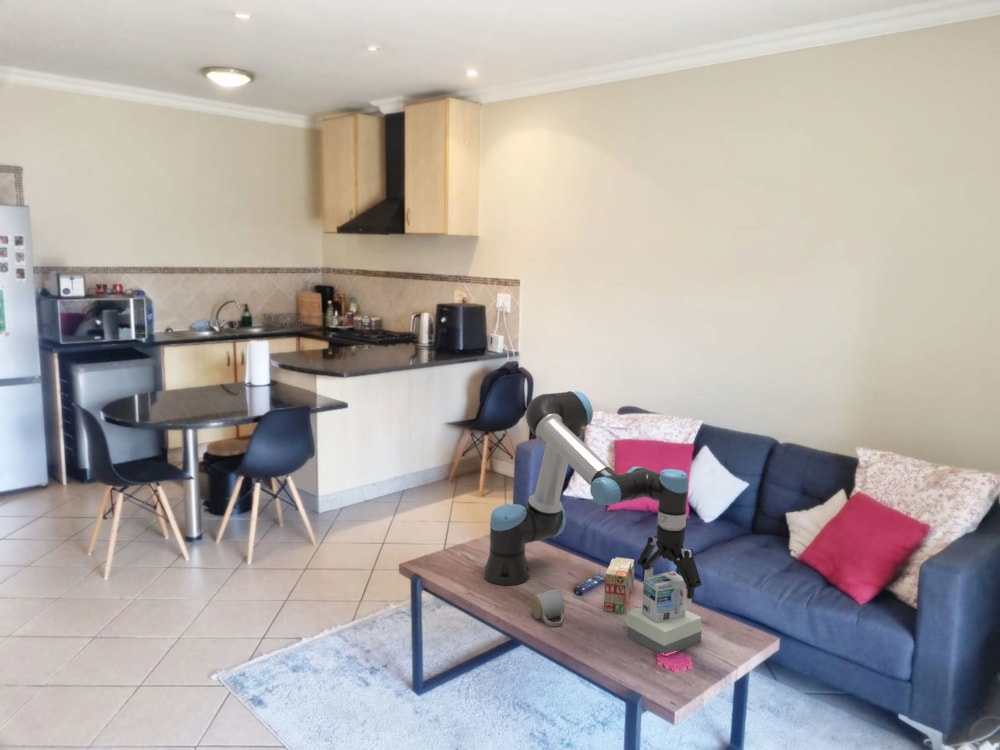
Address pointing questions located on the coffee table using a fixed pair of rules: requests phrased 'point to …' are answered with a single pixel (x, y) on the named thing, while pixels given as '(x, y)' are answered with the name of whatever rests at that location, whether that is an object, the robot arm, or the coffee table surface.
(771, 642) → the coffee table surface
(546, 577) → the coffee table surface
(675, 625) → the tower top slab
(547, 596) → the ceramic mug
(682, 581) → the light bulb box
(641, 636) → the tower base slab
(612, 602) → the stack of blocks
